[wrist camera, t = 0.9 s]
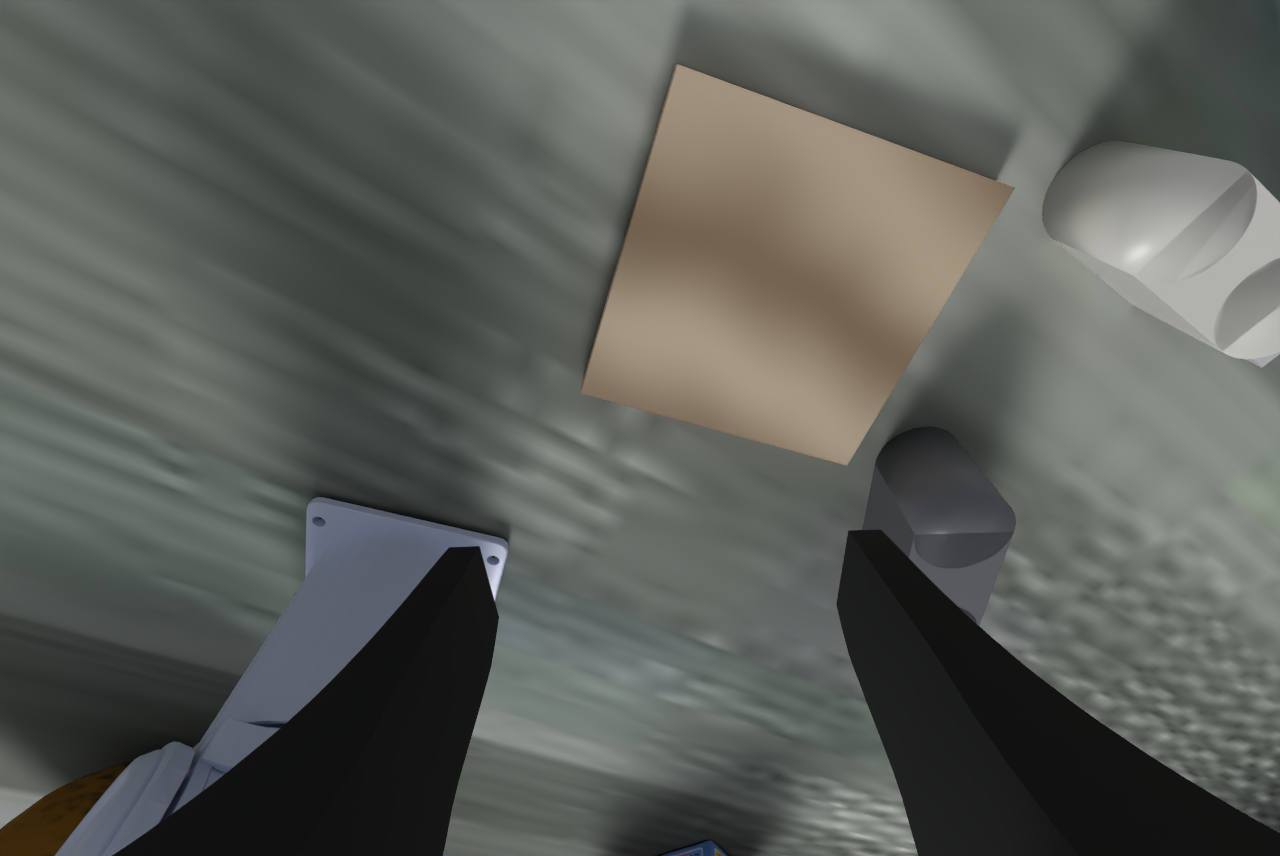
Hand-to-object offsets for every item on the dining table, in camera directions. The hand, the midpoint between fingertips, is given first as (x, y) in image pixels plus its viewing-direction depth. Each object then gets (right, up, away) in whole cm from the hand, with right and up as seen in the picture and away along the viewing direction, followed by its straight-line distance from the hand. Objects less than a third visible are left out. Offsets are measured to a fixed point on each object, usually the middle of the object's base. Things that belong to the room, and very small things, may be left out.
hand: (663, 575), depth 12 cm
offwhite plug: (+15, +9, +7) cm, 19 cm away
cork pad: (+4, +7, +8) cm, 11 cm away
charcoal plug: (+10, -1, +13) cm, 17 cm away
